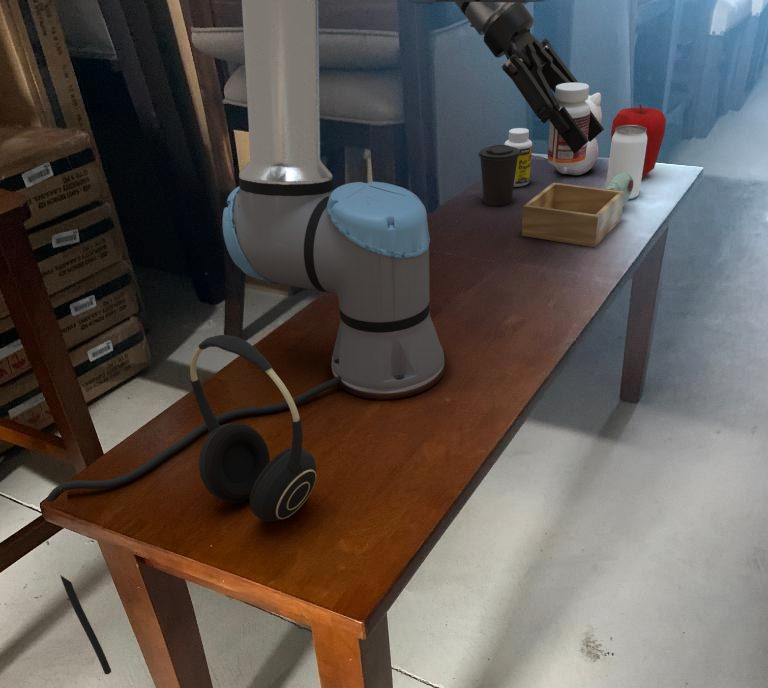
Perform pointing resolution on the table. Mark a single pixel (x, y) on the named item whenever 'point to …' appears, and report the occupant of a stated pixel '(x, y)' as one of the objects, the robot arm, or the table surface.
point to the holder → (572, 214)
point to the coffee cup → (498, 173)
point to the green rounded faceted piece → (622, 184)
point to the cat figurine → (591, 146)
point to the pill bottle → (579, 110)
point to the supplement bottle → (522, 142)
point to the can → (628, 155)
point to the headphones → (252, 450)
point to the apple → (654, 132)
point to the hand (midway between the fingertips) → (589, 141)
